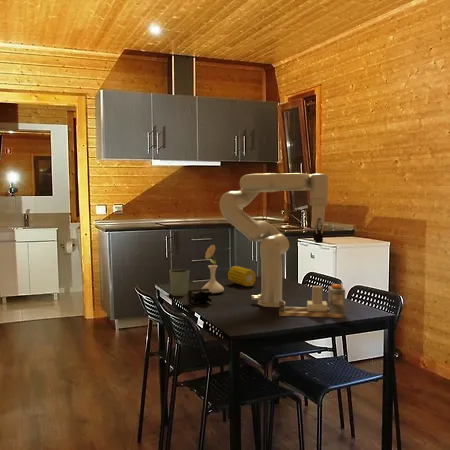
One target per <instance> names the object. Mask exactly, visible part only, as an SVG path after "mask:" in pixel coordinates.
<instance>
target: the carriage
mask: <svg viewBox="0 0 450 450" xmlns="http://www.w3.org/2000/svg"><path fill="white" fill-rule="evenodd" d="M311 288H312V289H311V290H312V291H311V292H312V293H311V300H307V301H306V307H308V311H327V308H328V302H327V301H326V300H323V288H324V287H323V286H322V285H312V287H311Z"/></svg>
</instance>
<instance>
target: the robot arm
mask: <svg viewBox="0 0 450 450" xmlns="http://www.w3.org/2000/svg"><path fill="white" fill-rule="evenodd" d="M239 179H240V180H239V187H240V188H239V189H238V190H230V191H226V192H225V193H223V194H222V195H221V196H220V199H219V209H220V213H221V215H222V216H223V218H224V219H225V220H226V221H227V222H228V223H229V224H231V225H232V226H233V227H234V228H236V230H237V231H238V232H240V233H241V234H243V235H244V236H245V237H246V238H247V240H249V241H251V242H254V243H257V242H261V243H260V244H259V251H260V252H259V253H260V263H261V269H260V270H261V275H260V276H261V277H260V278H261V280H260V281H261V282H260V283H261V285H260V286H261V290H260V291H261V292H260V294H257V295H256V294H252V295H251V300H254V301H257V305H258V306H261V307H265V308H279V301H283V261H282V255H284V254H285V253H287V252H288V251H289V248H290V242H289V239H288V237H286V236H285V234H283V233H282V232H281V231H279V230H278V229H277V228H276V227H275V226H273V225H272V224H270V222H268V221H265V220H256V219H255V218H253V217H252V216H250V215H249V214H248V213H247V212H245V211H244V210H242V209H243V208H245V207H247V206H248V205H250V204H251V202H252V201H253V200H254V199H255V198H257V196H258V195H259V194H260V193H275V192H280V191H284V192H285V191H288V192H289V191H296V192H297V191H299V192H300V191H301V192H302V191H309V206H312V207H311V225H310V227H311V228H312V229H313V241H314V243H315V244H322V243H324V234H323V233H324V232H323V229H324V227H325V213H326V211H325V209H326V206H327V207H328V200H329V199H328V195H329V193H328V191H329V188H328V187H329V177H328V174H326V173H312V174H311V173H302V172H293V173H292V172H291V173H275V172H272V173H271V172H268V173H267V172H266V173H249V174H244V175H243V176H241V177H240V178H239ZM243 235H242V236H243ZM284 306H286V301H284Z"/></svg>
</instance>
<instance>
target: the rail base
mask: <svg viewBox="0 0 450 450" xmlns="http://www.w3.org/2000/svg"><path fill="white" fill-rule="evenodd" d="M327 294H328V296H327V301H328V302H327V311H308V307H307V306H306V307H305V306H303V307H302V306H301V307H300V306H285V305H284V302H285V301H284V300H282V301H279V307H278V316H280V317H282V316H283V317H284V316H286V317H308V318H309V317H313V318H316V317H317V318H345V313H346V312H345V311H346V307H345V306H346V305H345V303H346V302H345V301H346V289H345V288H344V287H343V285H342V287H341V289H334V288H332V285H328V293H327Z"/></svg>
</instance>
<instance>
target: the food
mask: <svg viewBox="0 0 450 450" xmlns="http://www.w3.org/2000/svg"><path fill="white" fill-rule="evenodd" d="M227 272H228V273H227V276H228V277H227V278H228V280H229V281H230V282H231V283H234V284H236V285H241V286H243V287H246V288H247V287H252V286H253V285H254V284H255V282H256V278H257V277H256V273H255V271H253V270H252V269H250V268H246V267H242V266H238V265H233V266H231V267H230V268H229V270H228V271H227Z"/></svg>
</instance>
